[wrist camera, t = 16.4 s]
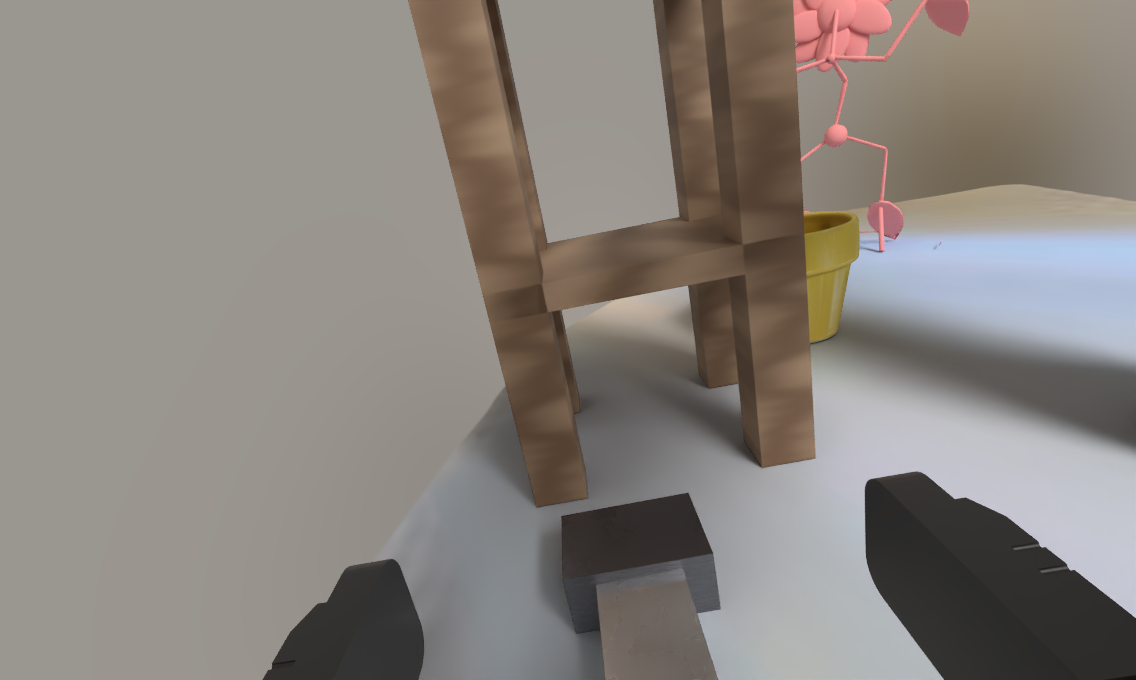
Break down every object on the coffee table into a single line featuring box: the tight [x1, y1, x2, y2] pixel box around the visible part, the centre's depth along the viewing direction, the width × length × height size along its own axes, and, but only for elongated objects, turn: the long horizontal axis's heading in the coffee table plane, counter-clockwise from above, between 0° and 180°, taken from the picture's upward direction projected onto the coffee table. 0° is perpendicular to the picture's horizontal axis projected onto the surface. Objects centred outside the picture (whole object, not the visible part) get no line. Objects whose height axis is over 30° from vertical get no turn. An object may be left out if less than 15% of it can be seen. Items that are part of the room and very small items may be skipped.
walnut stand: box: [408, 0, 815, 507], centre depth 31 cm, size 16×14×31 cm
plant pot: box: [804, 212, 859, 343], centre depth 46 cm, size 10×10×10 cm
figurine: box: [793, 0, 970, 252], centre depth 69 cm, size 15×26×35 cm, turn 64°
